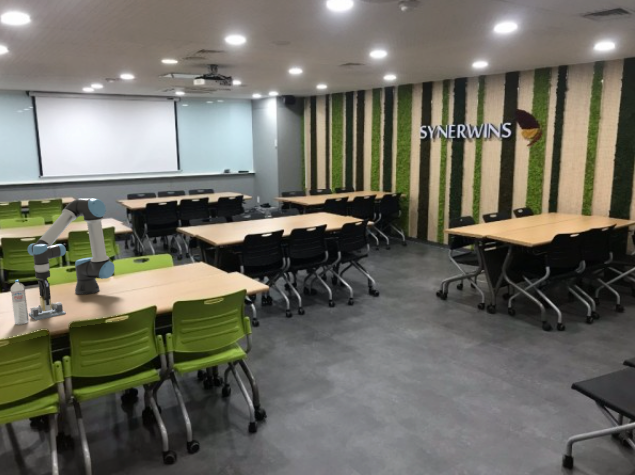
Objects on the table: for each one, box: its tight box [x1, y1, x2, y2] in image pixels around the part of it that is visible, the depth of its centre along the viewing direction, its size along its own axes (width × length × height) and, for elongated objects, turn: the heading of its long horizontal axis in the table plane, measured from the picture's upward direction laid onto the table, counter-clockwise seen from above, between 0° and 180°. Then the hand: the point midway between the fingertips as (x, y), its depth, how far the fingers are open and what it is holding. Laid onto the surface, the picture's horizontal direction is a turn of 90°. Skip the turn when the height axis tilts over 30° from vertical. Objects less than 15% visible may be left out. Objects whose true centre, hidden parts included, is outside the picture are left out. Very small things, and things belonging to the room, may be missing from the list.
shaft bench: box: [28, 301, 67, 321], centre depth 298 cm, size 14×16×6 cm
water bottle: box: [10, 279, 29, 326], centre depth 282 cm, size 7×7×25 cm
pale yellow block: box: [39, 296, 52, 311], centre depth 297 cm, size 4×4×8 cm
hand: (46, 309), depth 298 cm, fingers closed on pale yellow block, 4 cm apart
